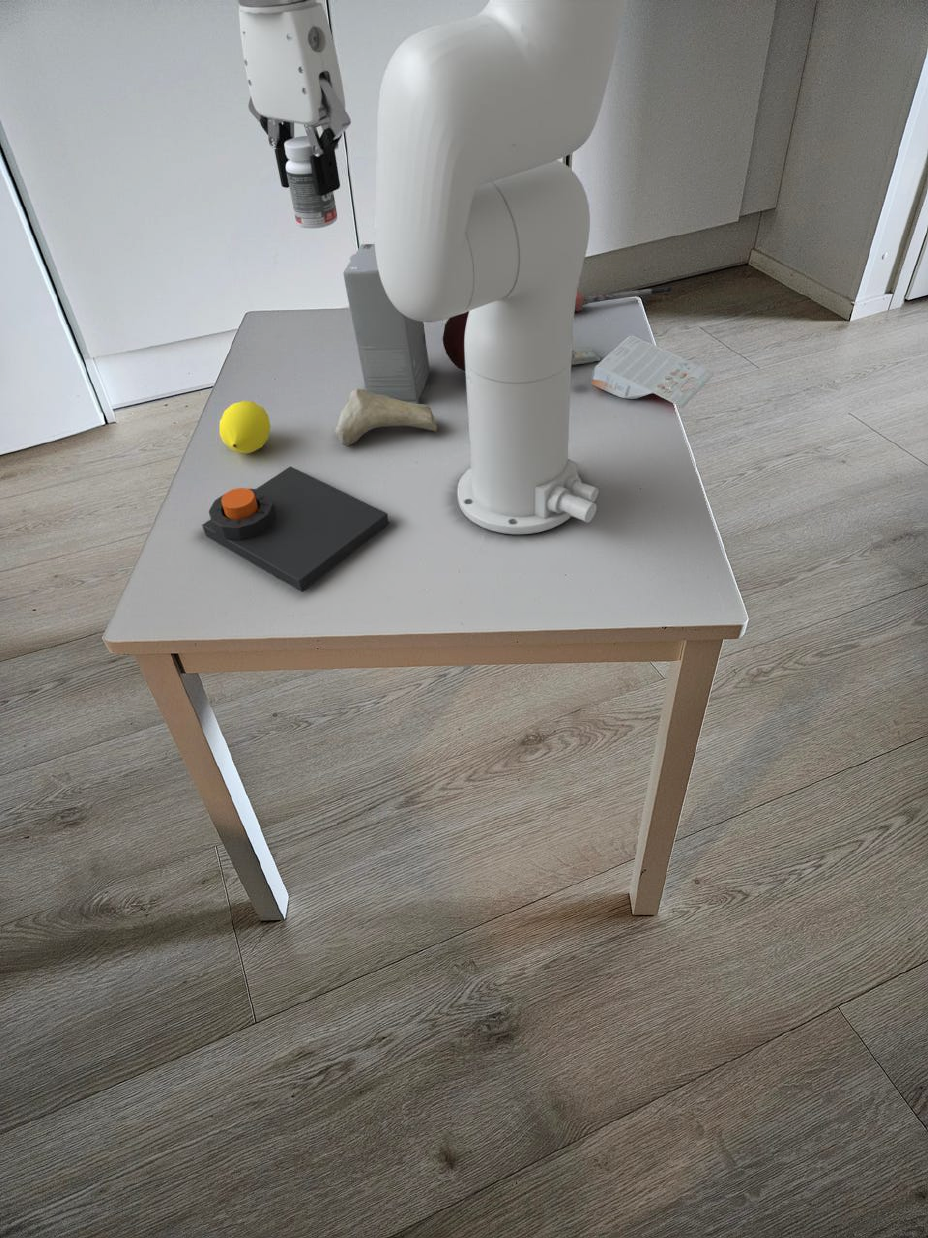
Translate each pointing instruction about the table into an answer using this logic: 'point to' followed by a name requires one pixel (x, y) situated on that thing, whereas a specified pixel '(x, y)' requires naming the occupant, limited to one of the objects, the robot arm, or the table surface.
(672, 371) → the ink box
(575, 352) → the granola bar
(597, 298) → the screwdriver
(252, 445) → the lemon
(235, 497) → the button
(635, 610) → the table surface
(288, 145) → the pill bottle
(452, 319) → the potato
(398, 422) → the cream lumpy piece
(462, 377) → the table surface
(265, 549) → the scale
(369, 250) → the cosmetic box
